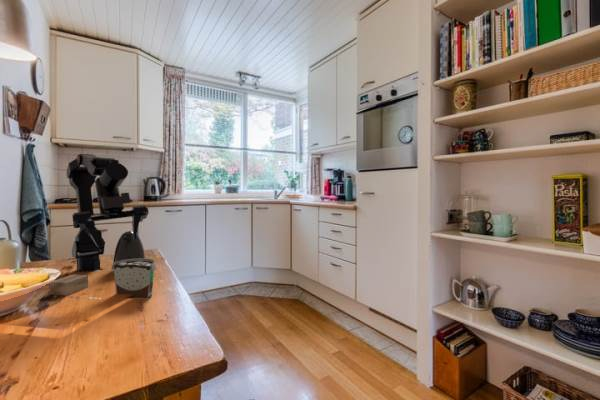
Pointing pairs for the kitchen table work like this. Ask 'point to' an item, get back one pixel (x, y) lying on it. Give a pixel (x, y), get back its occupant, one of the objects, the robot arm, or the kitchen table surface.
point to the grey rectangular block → (68, 284)
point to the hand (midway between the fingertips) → (117, 243)
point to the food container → (134, 277)
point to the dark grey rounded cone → (128, 247)
